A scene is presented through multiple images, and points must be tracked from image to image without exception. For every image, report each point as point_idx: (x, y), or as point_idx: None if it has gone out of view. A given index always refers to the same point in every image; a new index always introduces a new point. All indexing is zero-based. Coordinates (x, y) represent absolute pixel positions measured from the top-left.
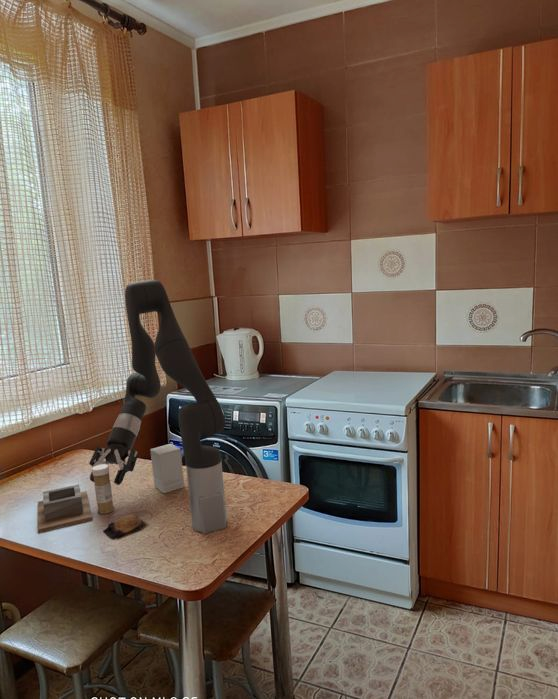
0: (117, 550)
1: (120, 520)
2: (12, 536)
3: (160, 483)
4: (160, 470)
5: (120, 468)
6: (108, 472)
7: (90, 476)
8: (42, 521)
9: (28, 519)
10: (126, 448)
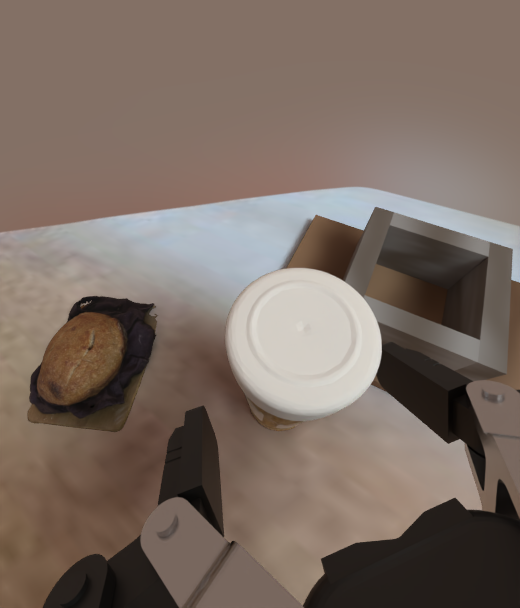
0: (42, 274)
1: (85, 328)
2: (346, 191)
3: None
4: None
5: (178, 510)
6: (238, 384)
7: (414, 353)
8: (354, 236)
9: None
10: None
